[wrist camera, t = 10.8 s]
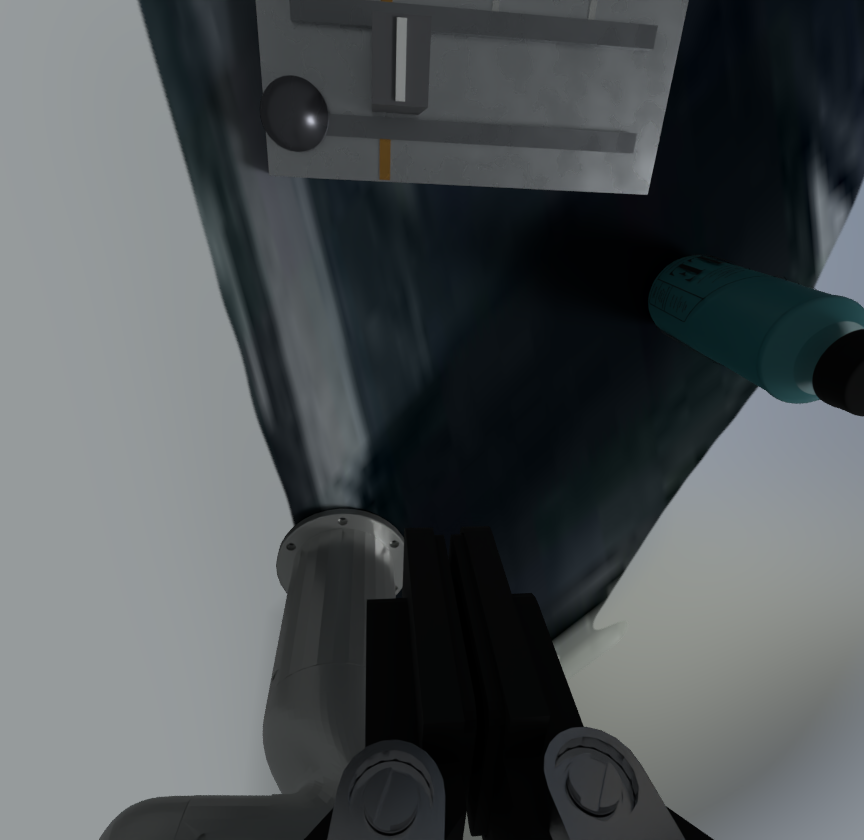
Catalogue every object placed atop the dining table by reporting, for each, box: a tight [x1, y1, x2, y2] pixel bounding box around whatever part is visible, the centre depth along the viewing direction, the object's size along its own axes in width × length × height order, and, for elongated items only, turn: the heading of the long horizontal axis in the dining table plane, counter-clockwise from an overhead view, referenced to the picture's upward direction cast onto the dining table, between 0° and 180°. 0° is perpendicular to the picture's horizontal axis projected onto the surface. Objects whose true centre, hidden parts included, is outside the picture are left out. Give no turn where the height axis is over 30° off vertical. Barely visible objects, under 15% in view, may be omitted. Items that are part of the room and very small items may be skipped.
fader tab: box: [372, 11, 432, 115], centre depth 30 cm, size 4×3×6 cm
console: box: [256, 0, 688, 195], centre depth 34 cm, size 12×26×4 cm, turn 87°
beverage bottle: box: [648, 254, 864, 416], centre depth 34 cm, size 6×7×20 cm
